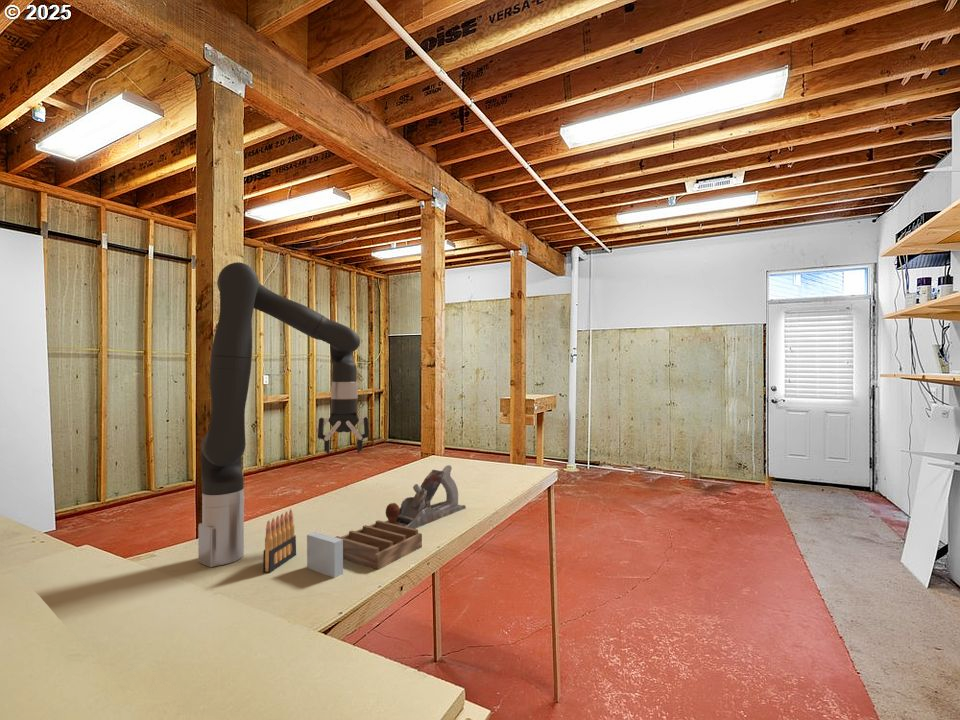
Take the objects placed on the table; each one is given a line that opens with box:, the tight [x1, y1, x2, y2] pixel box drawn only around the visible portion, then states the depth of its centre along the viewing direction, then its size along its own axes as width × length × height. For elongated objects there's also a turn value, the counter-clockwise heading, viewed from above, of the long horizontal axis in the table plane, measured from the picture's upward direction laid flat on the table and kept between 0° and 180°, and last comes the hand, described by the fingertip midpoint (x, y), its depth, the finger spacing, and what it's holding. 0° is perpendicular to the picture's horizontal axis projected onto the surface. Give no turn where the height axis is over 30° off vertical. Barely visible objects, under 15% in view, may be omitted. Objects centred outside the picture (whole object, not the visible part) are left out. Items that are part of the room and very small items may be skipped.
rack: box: [335, 519, 423, 570], centre depth 119 cm, size 16×17×4 cm
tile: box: [306, 531, 344, 579], centre depth 107 cm, size 2×10×8 cm, turn 57°
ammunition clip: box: [262, 508, 297, 574], centre depth 112 cm, size 11×2×12 cm, turn 169°
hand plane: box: [384, 465, 467, 529], centre depth 145 cm, size 9×33×15 cm, turn 143°
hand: (343, 452), depth 132 cm, fingers open, 8 cm apart
